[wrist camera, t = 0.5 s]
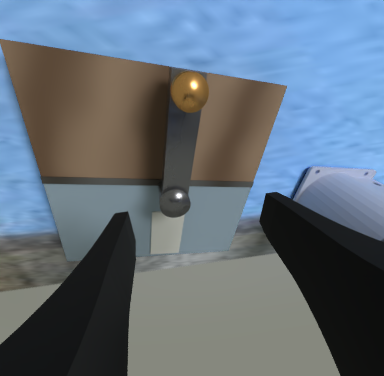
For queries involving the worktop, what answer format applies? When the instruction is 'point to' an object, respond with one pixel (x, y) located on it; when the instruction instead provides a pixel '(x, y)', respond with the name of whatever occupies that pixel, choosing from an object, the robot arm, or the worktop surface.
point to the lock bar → (181, 138)
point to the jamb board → (132, 119)
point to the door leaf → (146, 217)
